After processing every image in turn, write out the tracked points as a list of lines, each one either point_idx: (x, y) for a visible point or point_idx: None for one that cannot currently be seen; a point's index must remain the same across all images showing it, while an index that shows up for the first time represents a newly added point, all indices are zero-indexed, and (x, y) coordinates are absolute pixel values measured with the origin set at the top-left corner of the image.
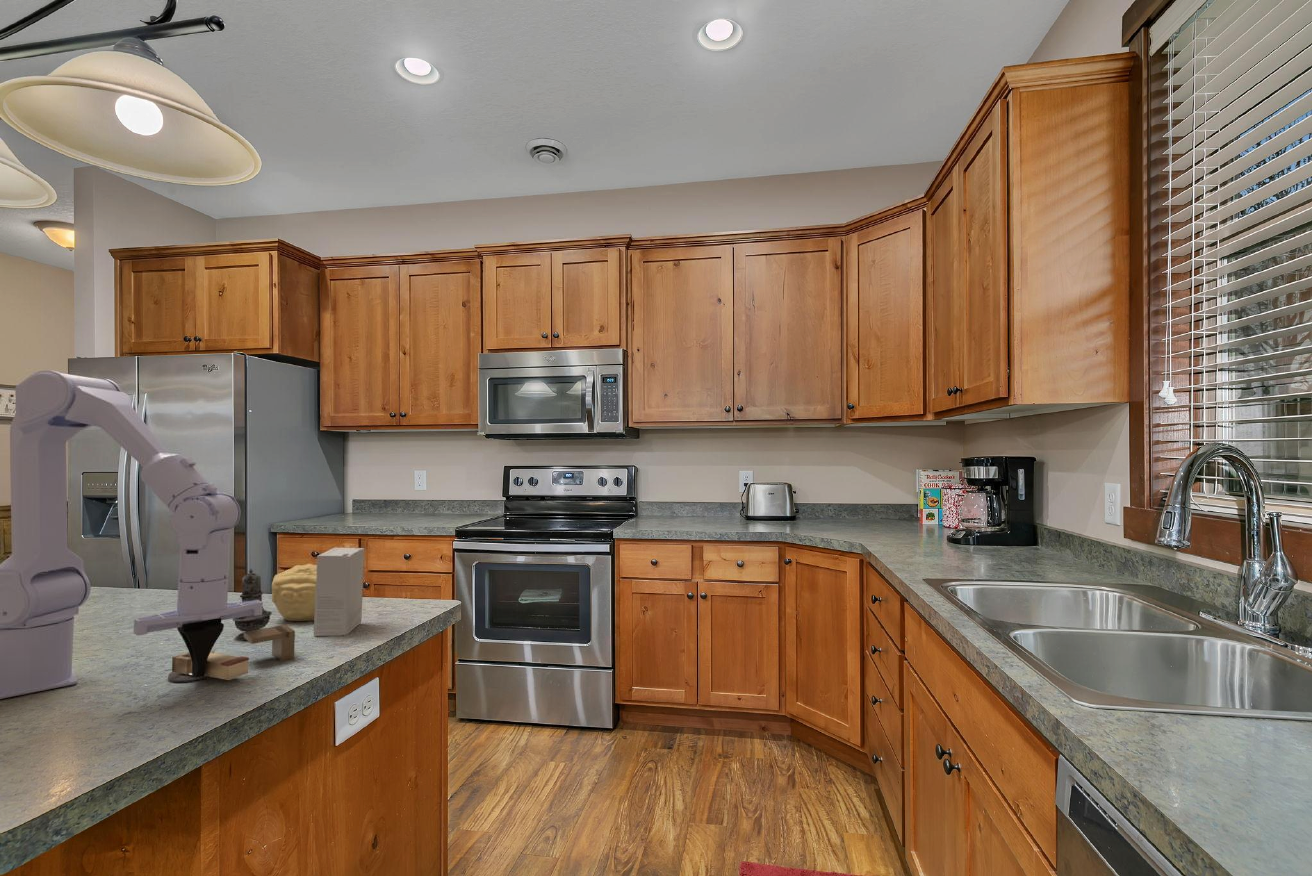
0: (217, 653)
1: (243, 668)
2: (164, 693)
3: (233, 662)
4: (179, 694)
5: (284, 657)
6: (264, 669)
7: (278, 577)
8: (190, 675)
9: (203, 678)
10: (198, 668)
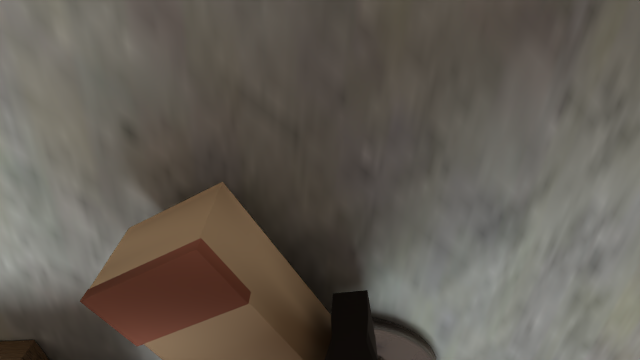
0: None
1: (134, 241)
2: (490, 251)
3: (168, 267)
4: (445, 198)
5: (12, 353)
6: None
7: None
8: None
9: None
10: (365, 326)
